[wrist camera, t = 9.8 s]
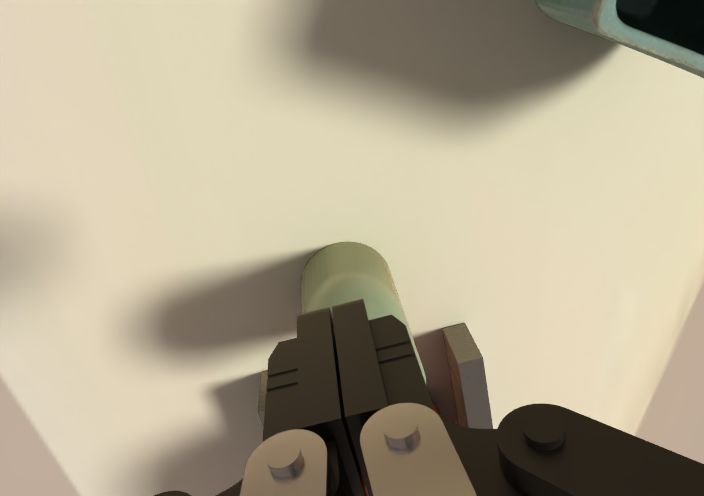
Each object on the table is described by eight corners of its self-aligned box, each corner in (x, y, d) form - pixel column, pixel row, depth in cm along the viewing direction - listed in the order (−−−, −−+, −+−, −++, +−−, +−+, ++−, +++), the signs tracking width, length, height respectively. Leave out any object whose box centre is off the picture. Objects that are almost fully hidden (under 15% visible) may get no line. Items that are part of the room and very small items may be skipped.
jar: (290, 254, 26) (289, 370, 18) (381, 232, 26) (420, 338, 18) (313, 329, 28) (321, 464, 20) (397, 309, 28) (440, 436, 20)
